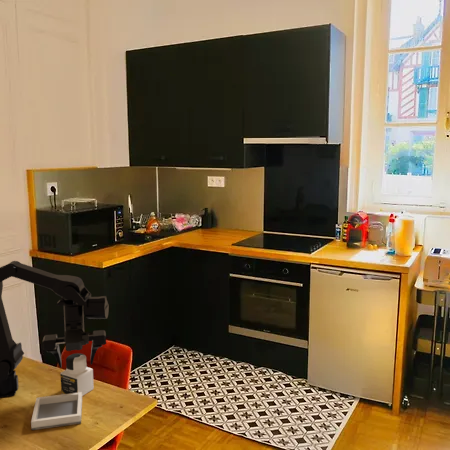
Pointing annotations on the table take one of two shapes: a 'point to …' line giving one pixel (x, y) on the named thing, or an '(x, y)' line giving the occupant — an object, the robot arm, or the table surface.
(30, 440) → the table surface
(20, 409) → the table surface
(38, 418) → the walled box
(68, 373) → the medicine bottle
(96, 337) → the robot arm
